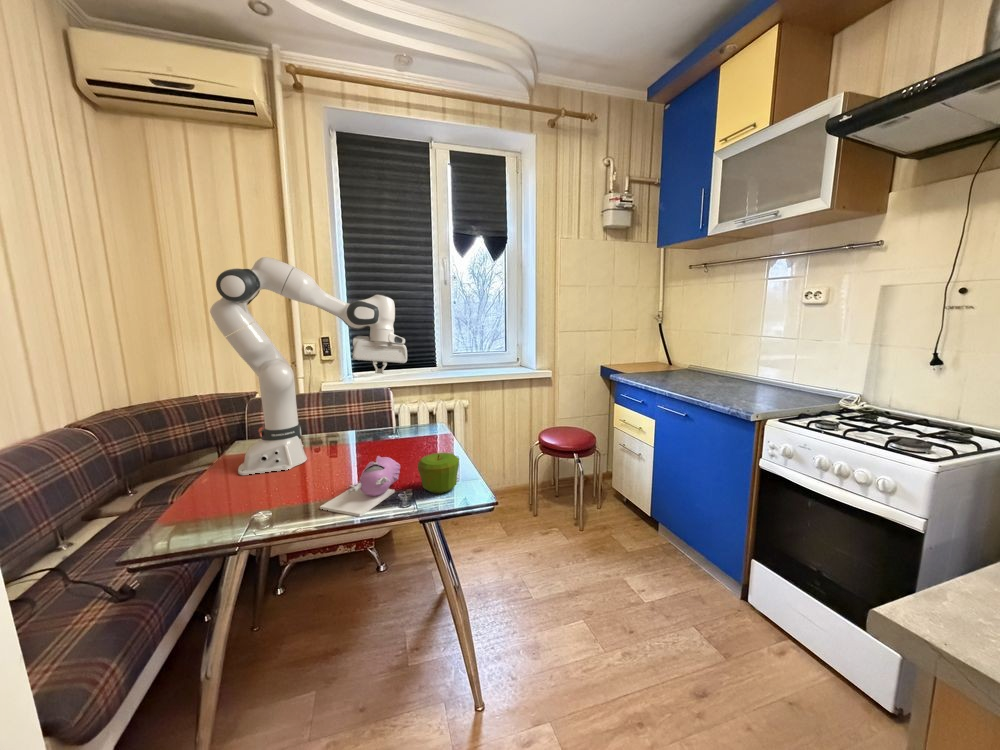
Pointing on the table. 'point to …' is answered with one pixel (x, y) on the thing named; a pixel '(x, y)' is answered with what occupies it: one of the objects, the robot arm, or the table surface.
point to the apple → (438, 472)
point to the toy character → (377, 476)
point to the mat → (355, 502)
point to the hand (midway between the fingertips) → (379, 373)
